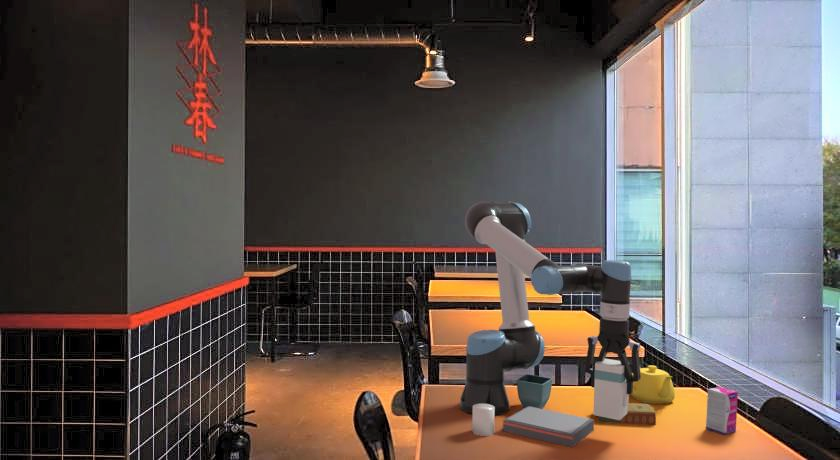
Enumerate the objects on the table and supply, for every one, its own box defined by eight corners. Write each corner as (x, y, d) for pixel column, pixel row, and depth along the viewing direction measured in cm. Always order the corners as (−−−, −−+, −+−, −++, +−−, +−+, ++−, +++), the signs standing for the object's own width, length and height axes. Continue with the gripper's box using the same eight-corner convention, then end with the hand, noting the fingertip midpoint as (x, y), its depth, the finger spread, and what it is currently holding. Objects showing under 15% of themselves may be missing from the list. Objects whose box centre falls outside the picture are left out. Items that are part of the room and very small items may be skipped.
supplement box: (725, 435, 171) (726, 393, 170) (705, 428, 176) (706, 388, 175) (737, 431, 174) (738, 391, 174) (717, 425, 179) (718, 386, 179)
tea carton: (593, 414, 166) (594, 363, 166) (601, 408, 172) (603, 358, 172) (619, 420, 162) (621, 367, 162) (627, 413, 168) (629, 362, 168)
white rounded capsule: (468, 433, 170) (468, 407, 169) (478, 427, 174) (479, 402, 174) (487, 437, 166) (488, 411, 166) (498, 431, 171) (498, 406, 171)
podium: (502, 431, 171) (502, 419, 171) (527, 416, 184) (527, 405, 184) (572, 447, 160) (572, 434, 160) (593, 430, 173) (593, 418, 173)
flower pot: (542, 413, 187) (542, 384, 187) (515, 408, 192) (515, 379, 191) (552, 406, 194) (553, 378, 194) (526, 401, 199) (526, 373, 199)
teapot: (609, 390, 214) (609, 359, 214) (649, 388, 217) (650, 357, 217) (645, 410, 192) (645, 375, 192) (689, 407, 195) (690, 373, 195)
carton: (656, 426, 178) (656, 411, 178) (598, 423, 180) (599, 409, 180) (648, 417, 187) (648, 402, 186) (593, 414, 188) (594, 400, 188)
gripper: (573, 315, 169) (570, 398, 170) (649, 325, 158) (645, 414, 159) (583, 311, 175) (580, 392, 176) (656, 321, 164) (652, 406, 165)
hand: (610, 402), depth 167 cm, fingers closed on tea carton, 7 cm apart
